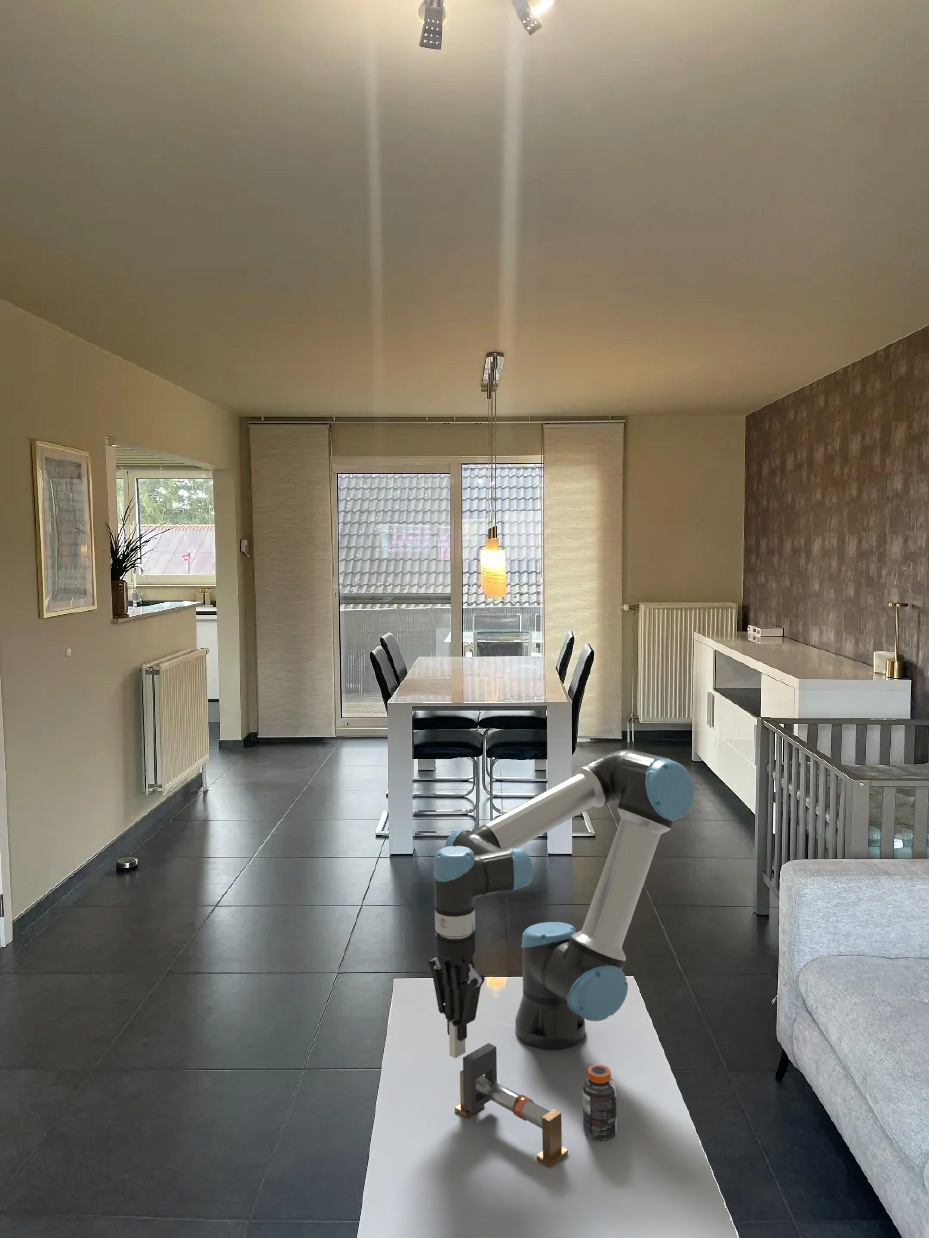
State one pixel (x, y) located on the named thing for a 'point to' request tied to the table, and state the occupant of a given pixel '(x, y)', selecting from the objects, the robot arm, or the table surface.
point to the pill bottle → (599, 1103)
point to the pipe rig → (522, 1116)
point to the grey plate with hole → (478, 1074)
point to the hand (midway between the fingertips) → (457, 1053)
